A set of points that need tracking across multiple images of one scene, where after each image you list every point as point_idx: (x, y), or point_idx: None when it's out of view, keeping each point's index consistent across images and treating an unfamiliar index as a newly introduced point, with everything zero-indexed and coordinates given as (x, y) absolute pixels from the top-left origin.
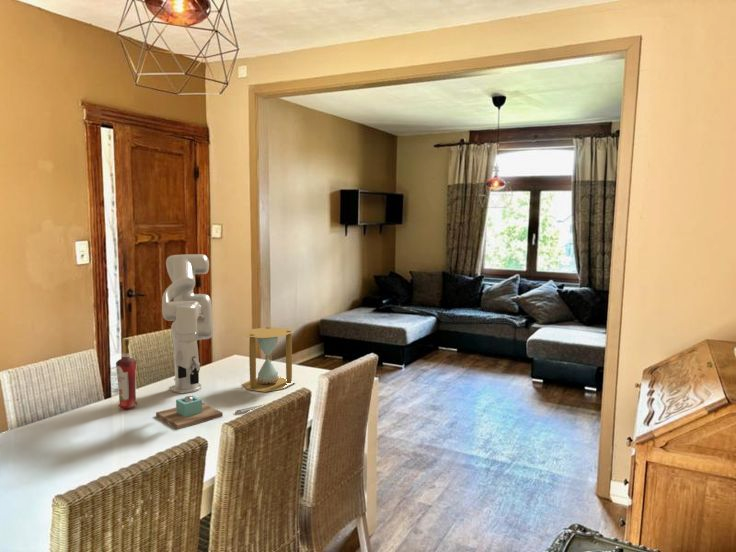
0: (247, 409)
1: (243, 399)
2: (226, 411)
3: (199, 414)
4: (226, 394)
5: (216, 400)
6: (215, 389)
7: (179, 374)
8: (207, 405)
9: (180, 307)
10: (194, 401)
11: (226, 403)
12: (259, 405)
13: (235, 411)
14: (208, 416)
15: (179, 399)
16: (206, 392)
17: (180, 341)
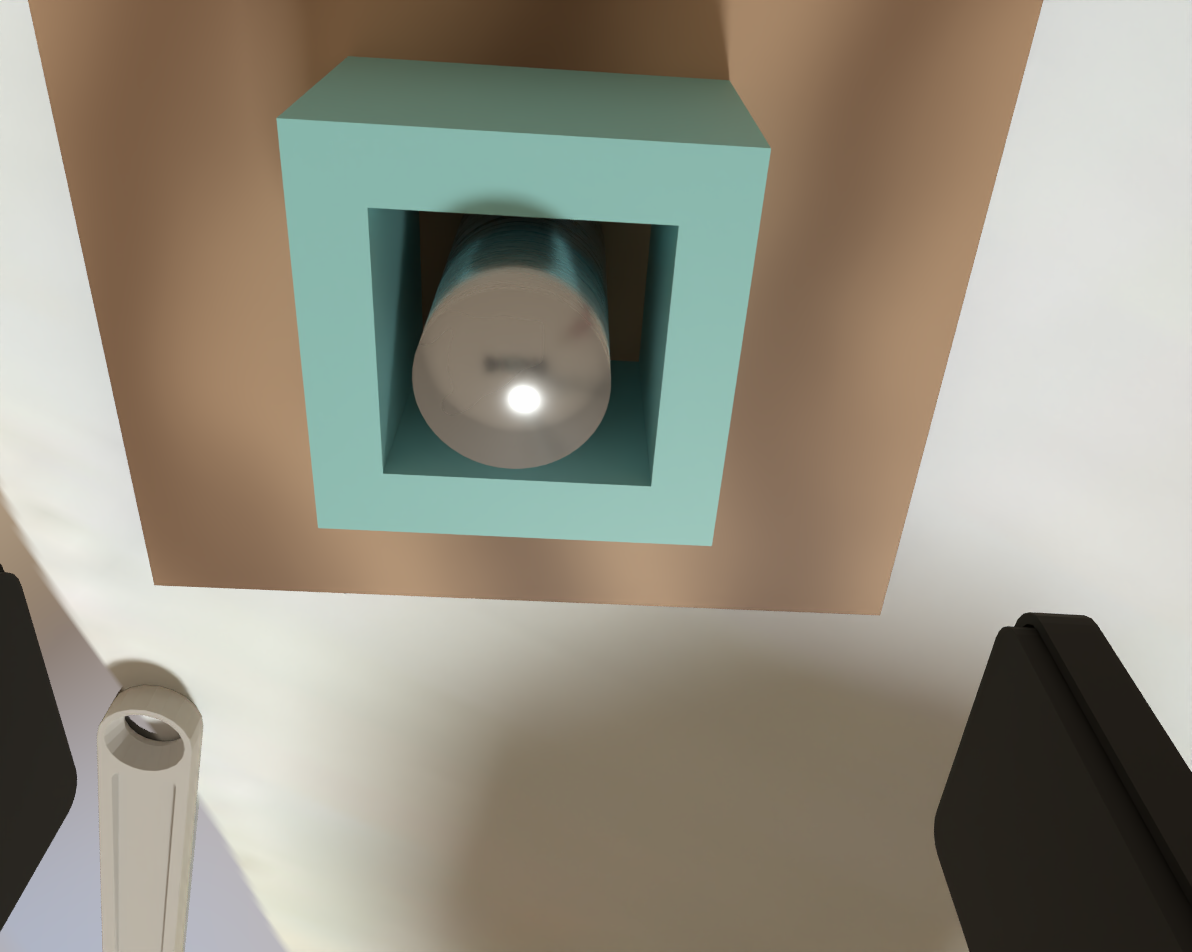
0: (153, 824)
1: (578, 944)
2: (331, 665)
3: None
4: (893, 923)
5: (816, 777)
6: None
7: (1064, 754)
8: (611, 598)
9: None
10: (320, 381)
11: (611, 794)
12: (171, 943)
13: (150, 713)
14: (107, 367)
15: (717, 220)
16: None
17: None
